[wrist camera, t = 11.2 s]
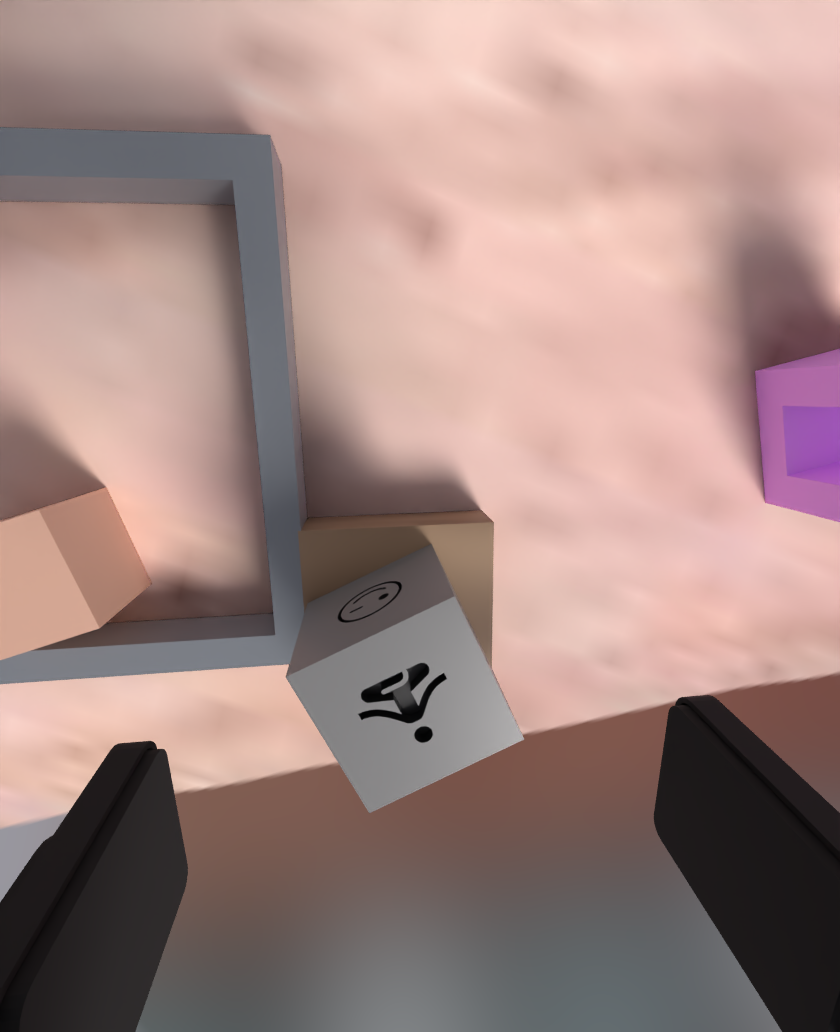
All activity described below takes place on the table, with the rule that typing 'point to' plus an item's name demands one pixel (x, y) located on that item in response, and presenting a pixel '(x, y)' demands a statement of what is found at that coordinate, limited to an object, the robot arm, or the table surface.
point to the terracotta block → (64, 572)
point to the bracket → (801, 434)
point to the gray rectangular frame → (268, 310)
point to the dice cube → (399, 680)
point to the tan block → (403, 555)
